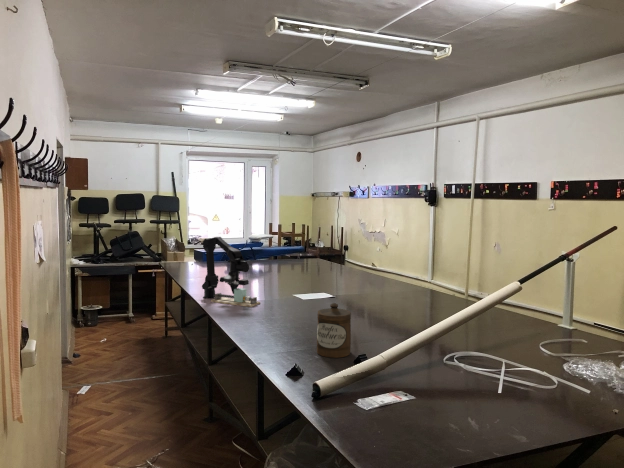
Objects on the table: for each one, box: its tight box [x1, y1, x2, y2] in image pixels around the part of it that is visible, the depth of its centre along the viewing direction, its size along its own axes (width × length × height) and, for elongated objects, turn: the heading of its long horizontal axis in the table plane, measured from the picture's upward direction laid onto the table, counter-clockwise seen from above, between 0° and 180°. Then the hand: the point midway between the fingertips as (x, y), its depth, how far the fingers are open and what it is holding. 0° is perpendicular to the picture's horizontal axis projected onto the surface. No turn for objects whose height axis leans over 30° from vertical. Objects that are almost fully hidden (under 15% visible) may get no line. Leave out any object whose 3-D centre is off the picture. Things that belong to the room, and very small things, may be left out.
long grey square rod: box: [218, 293, 255, 301], centre depth 306 cm, size 29×2×2 cm, turn 65°
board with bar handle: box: [210, 292, 261, 308], centre depth 306 cm, size 30×11×5 cm, turn 65°
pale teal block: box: [233, 287, 247, 302], centre depth 304 cm, size 6×5×8 cm
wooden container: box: [316, 302, 352, 359], centre depth 210 cm, size 15×15×22 cm
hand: (233, 294), depth 306 cm, fingers closed
